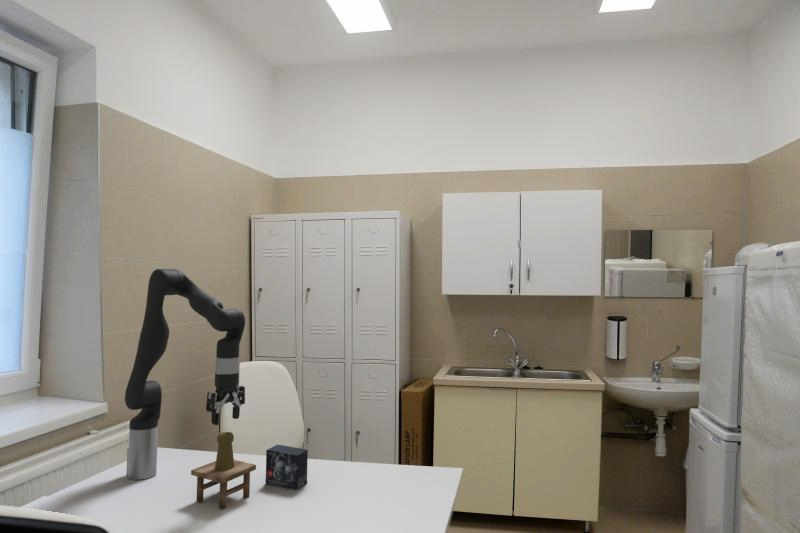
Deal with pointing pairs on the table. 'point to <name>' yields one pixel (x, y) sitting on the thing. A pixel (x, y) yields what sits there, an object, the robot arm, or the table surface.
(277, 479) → the small box
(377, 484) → the table surface
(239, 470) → the stool
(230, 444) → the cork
